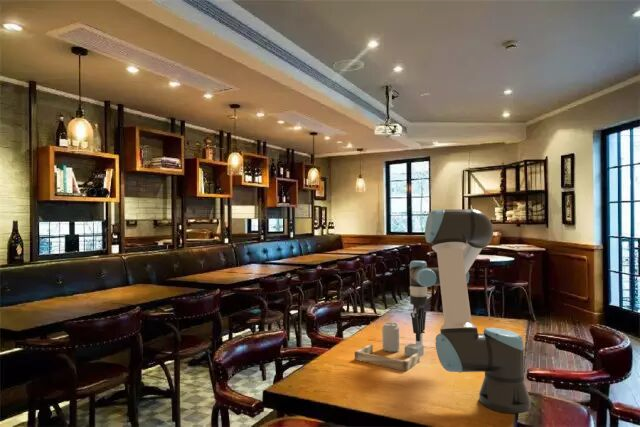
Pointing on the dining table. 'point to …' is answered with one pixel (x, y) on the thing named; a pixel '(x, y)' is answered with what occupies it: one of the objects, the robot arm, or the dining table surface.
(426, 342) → the dining table surface
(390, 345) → the can
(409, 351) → the pale grey square block
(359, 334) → the dining table surface
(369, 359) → the tray
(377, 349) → the dining table surface
